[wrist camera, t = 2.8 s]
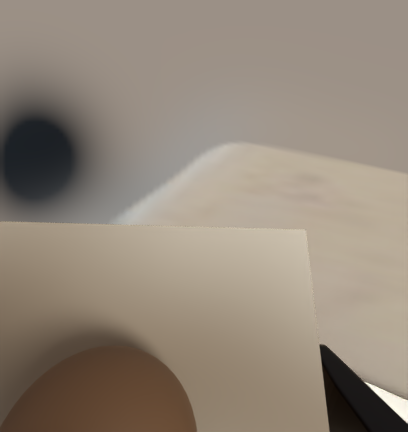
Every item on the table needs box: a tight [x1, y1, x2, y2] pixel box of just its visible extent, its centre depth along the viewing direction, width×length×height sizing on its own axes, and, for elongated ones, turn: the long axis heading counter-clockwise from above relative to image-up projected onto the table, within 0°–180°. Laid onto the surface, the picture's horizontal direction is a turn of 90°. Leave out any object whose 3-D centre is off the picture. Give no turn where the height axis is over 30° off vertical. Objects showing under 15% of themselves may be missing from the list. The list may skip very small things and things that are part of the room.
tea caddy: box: [0, 221, 329, 432], centre depth 9 cm, size 5×5×15 cm
